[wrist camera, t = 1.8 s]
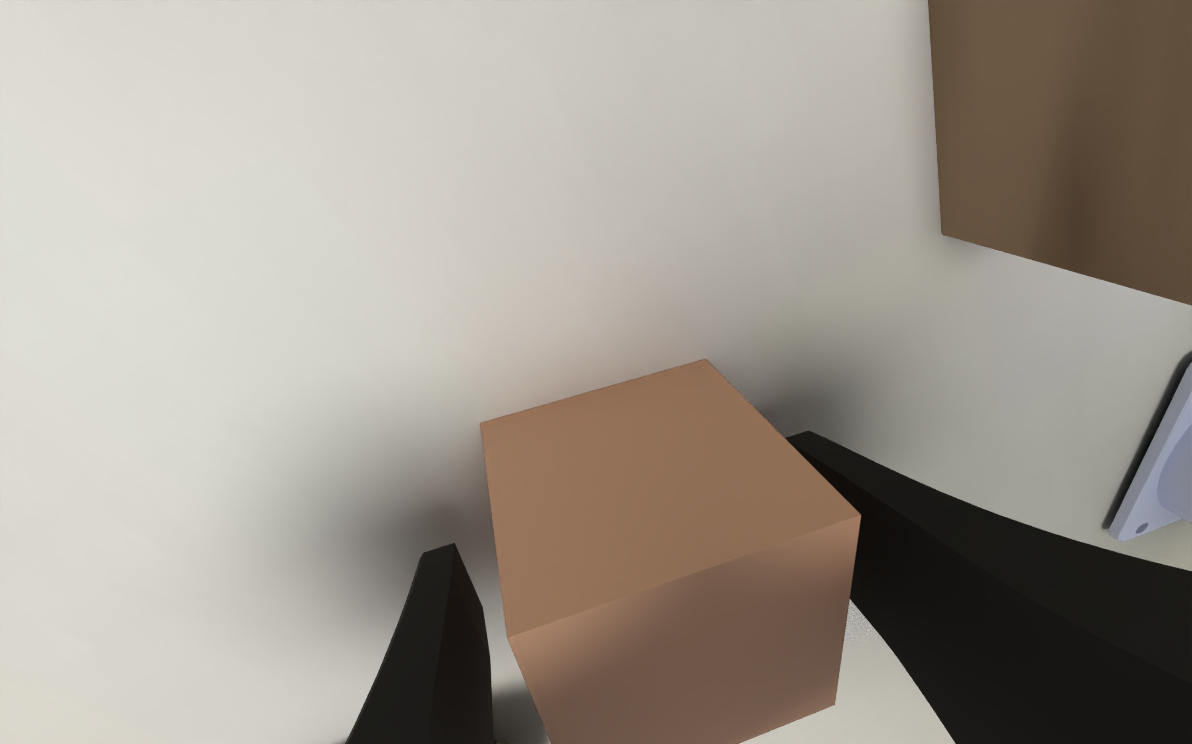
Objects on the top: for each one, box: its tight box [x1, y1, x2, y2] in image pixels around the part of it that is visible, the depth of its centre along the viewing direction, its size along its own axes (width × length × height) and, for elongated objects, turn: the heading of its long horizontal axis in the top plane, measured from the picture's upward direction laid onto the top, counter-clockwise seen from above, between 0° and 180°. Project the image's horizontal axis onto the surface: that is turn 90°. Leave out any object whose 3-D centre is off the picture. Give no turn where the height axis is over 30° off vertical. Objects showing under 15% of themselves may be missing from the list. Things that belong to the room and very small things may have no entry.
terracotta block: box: [480, 359, 861, 744], centre depth 10 cm, size 5×5×5 cm
